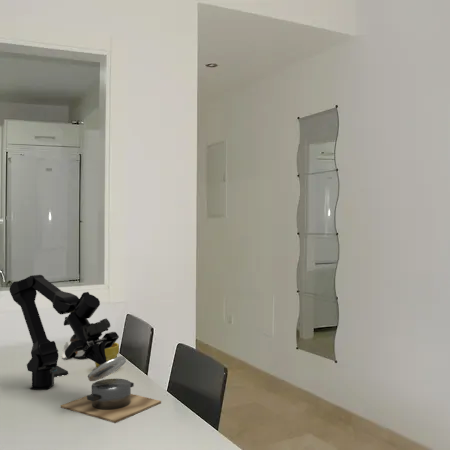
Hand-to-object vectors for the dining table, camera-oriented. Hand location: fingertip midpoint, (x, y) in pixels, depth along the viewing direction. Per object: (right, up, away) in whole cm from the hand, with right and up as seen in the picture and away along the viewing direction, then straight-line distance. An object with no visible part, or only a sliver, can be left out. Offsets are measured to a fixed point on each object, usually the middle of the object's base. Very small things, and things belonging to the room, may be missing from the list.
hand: (105, 365), depth 174 cm
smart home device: (-31, -12, +39) cm, 51 cm away
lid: (+1, -1, -1) cm, 2 cm away
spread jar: (-25, -12, +59) cm, 65 cm away
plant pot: (-8, -12, +39) cm, 41 cm away
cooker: (+2, -12, -1) cm, 12 cm away
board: (+2, -12, -1) cm, 12 cm away
